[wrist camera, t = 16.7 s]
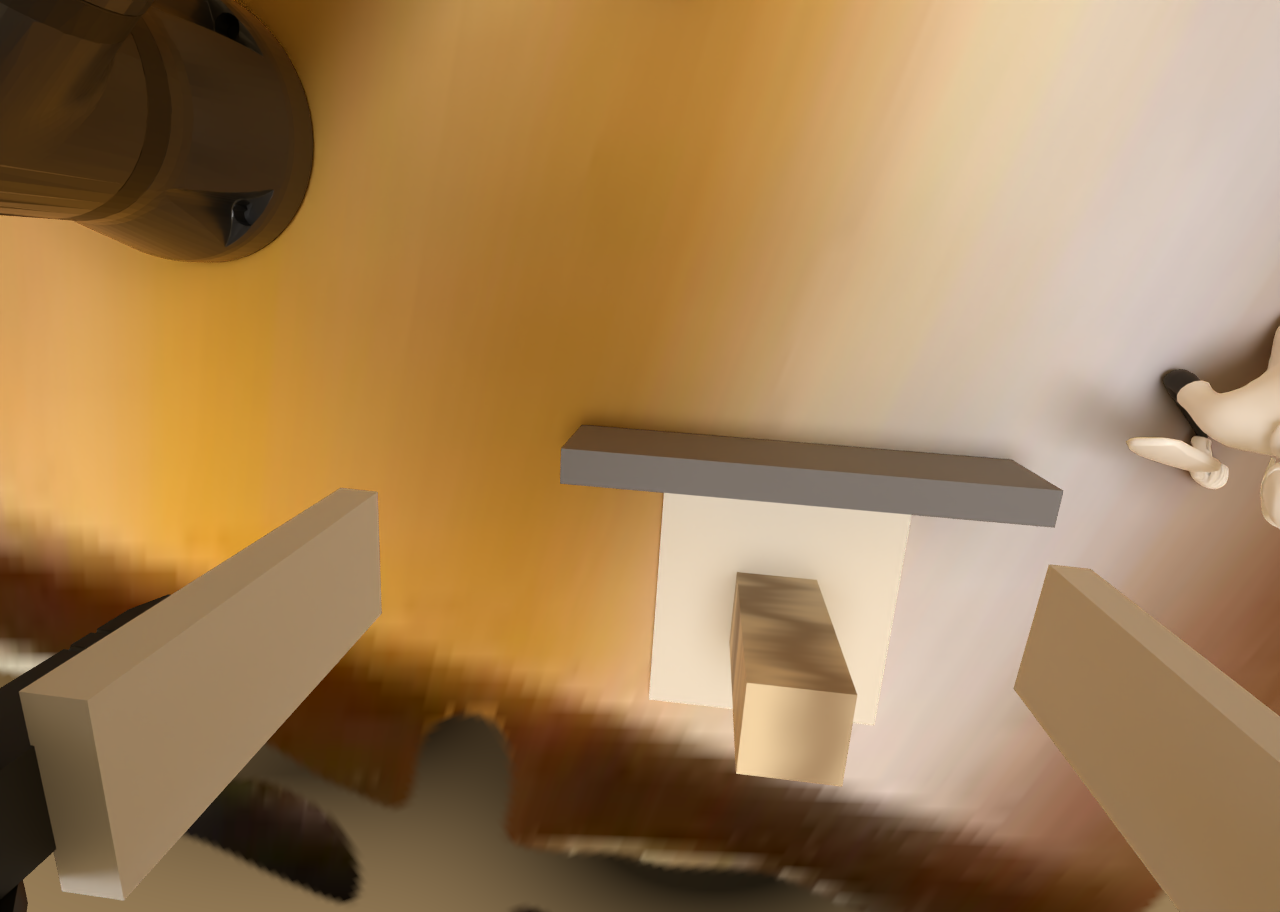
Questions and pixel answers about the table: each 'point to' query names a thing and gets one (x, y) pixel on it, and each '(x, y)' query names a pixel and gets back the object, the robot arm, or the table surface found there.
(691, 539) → the mat
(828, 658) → the letter block
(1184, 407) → the cricket player figurine
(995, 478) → the grey plank
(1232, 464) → the table surface
